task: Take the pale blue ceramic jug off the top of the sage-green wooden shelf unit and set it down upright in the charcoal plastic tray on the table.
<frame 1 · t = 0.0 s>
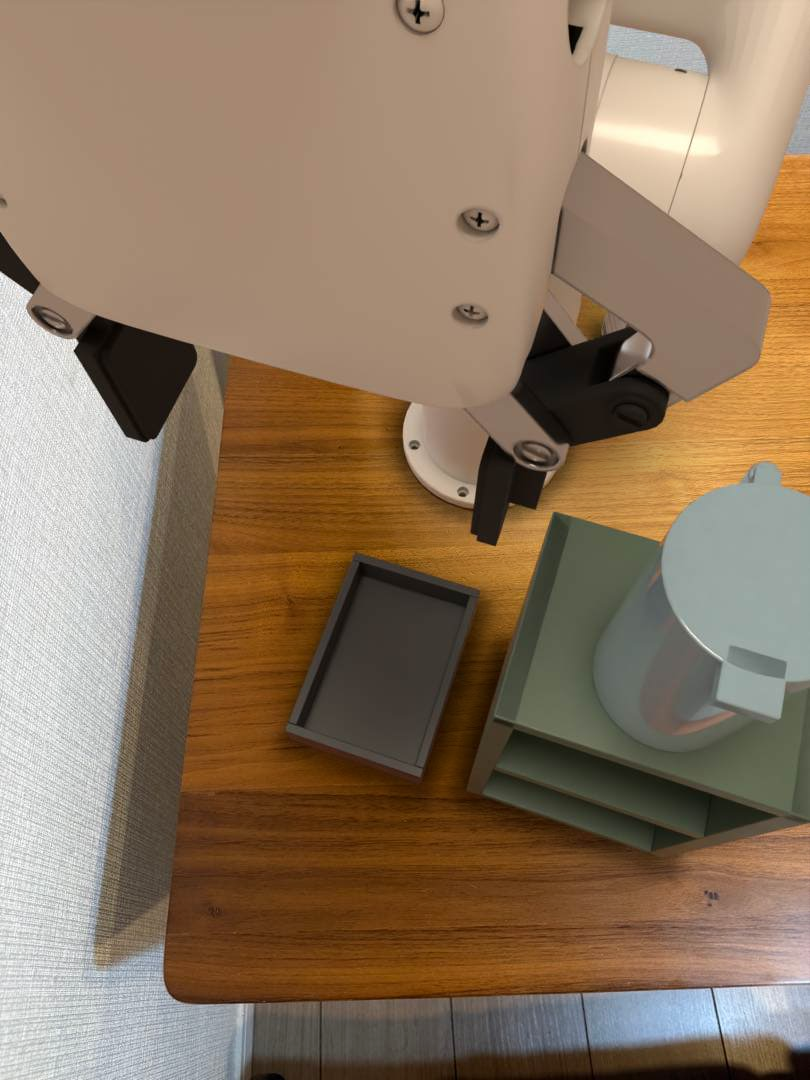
hand: (327, 445, 22), 37 cm above the table, tool pointing down, fingers open, 9 cm apart
shelf: (580, 749, 55), on the table
tray: (387, 670, 57), on the table
jug: (668, 675, 34), point 22 cm above the table, touching shelf
wine bottle: (466, 312, 70), on the table
syrup box: (638, 356, 68), on the table
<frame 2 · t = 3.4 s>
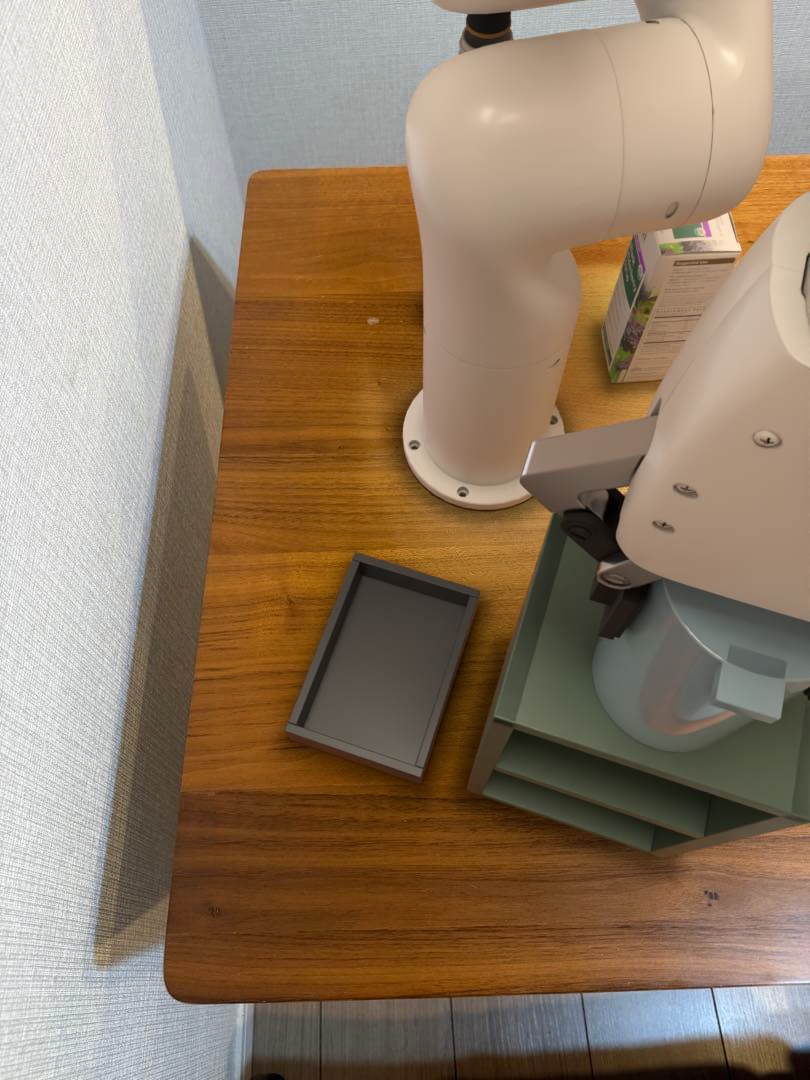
hand: (716, 629, 29), 28 cm above the table, tool pointing down, fingers closed on jug, 6 cm apart
jug: (668, 675, 34), point 22 cm above the table, touching gripper, shelf
everything else where it was.
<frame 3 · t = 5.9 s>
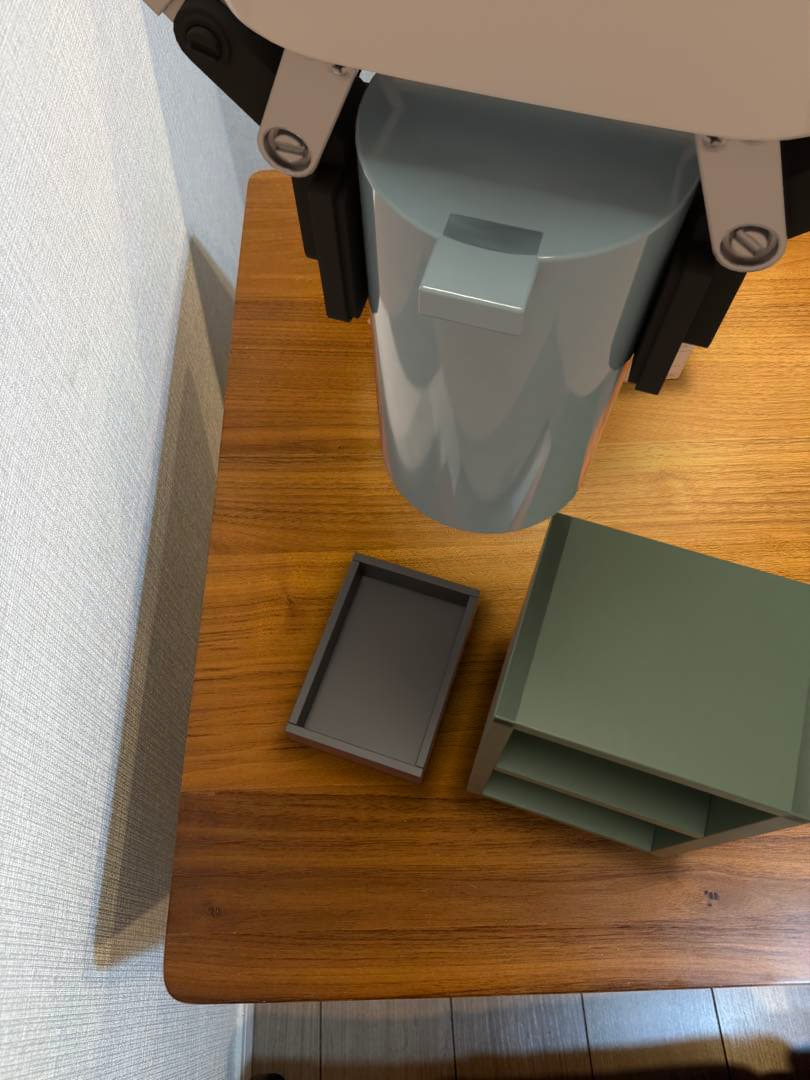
hand: (504, 304, 19), 40 cm above the table, tool pointing down, fingers closed on jug, 6 cm apart
jug: (486, 439, 25), point 34 cm above the table, touching gripper
everything else where it was.
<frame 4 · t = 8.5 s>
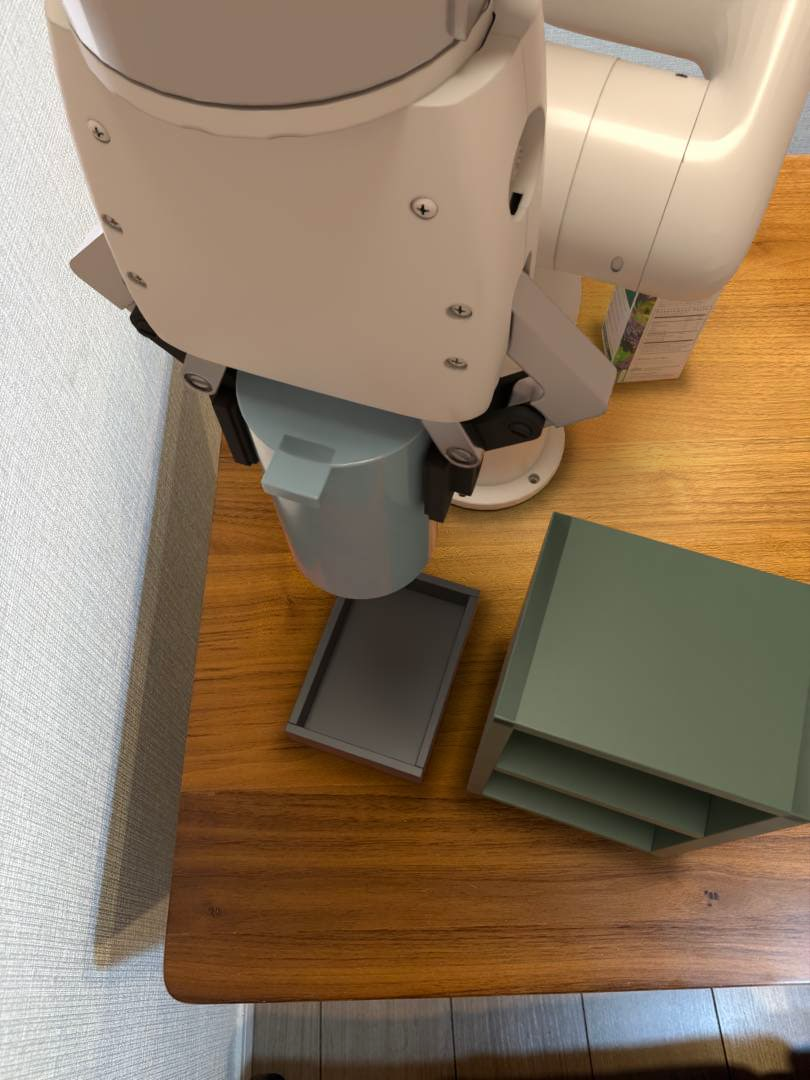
hand: (352, 456, 30), 30 cm above the table, tool pointing down, fingers closed on jug, 6 cm apart
jug: (362, 529, 35), point 24 cm above the table, touching gripper
everything else where it was.
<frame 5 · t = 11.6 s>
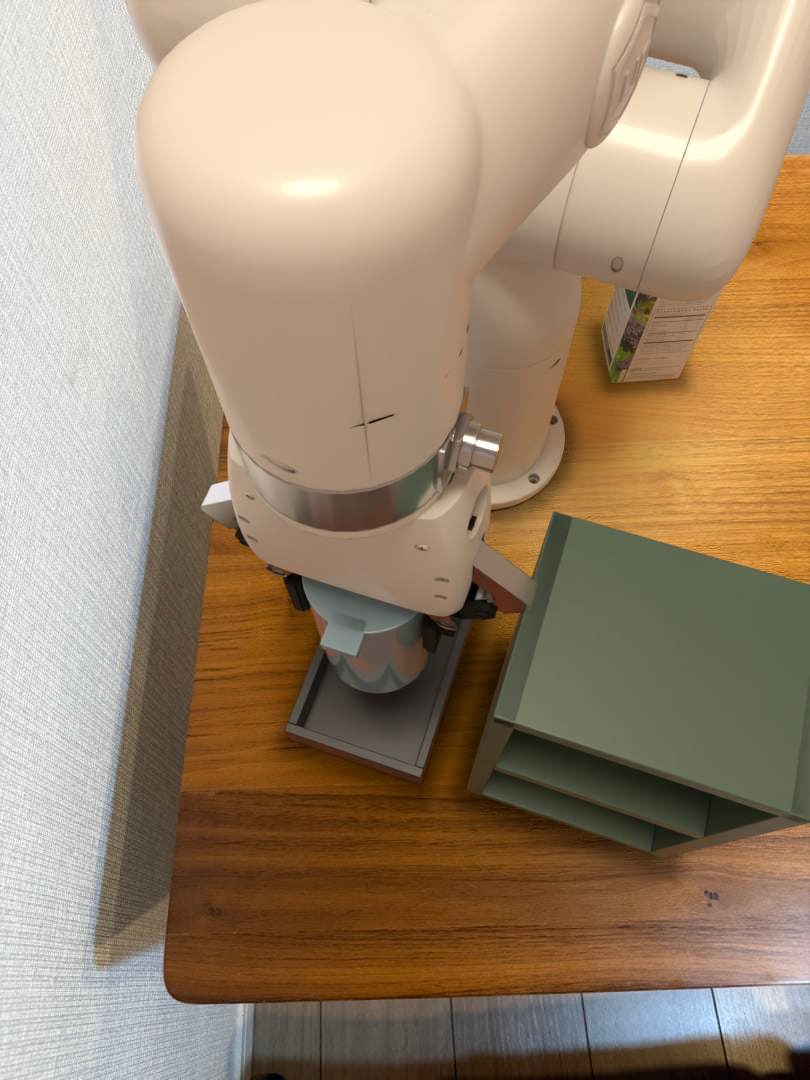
hand: (374, 604, 44), 15 cm above the table, tool pointing down, fingers closed on jug, 6 cm apart
jug: (378, 640, 49), point 9 cm above the table, touching gripper
everything else where it was.
when the fingers open (7 cm above the table, at t = 14.0 s): jug stays where it is, resting on tray.
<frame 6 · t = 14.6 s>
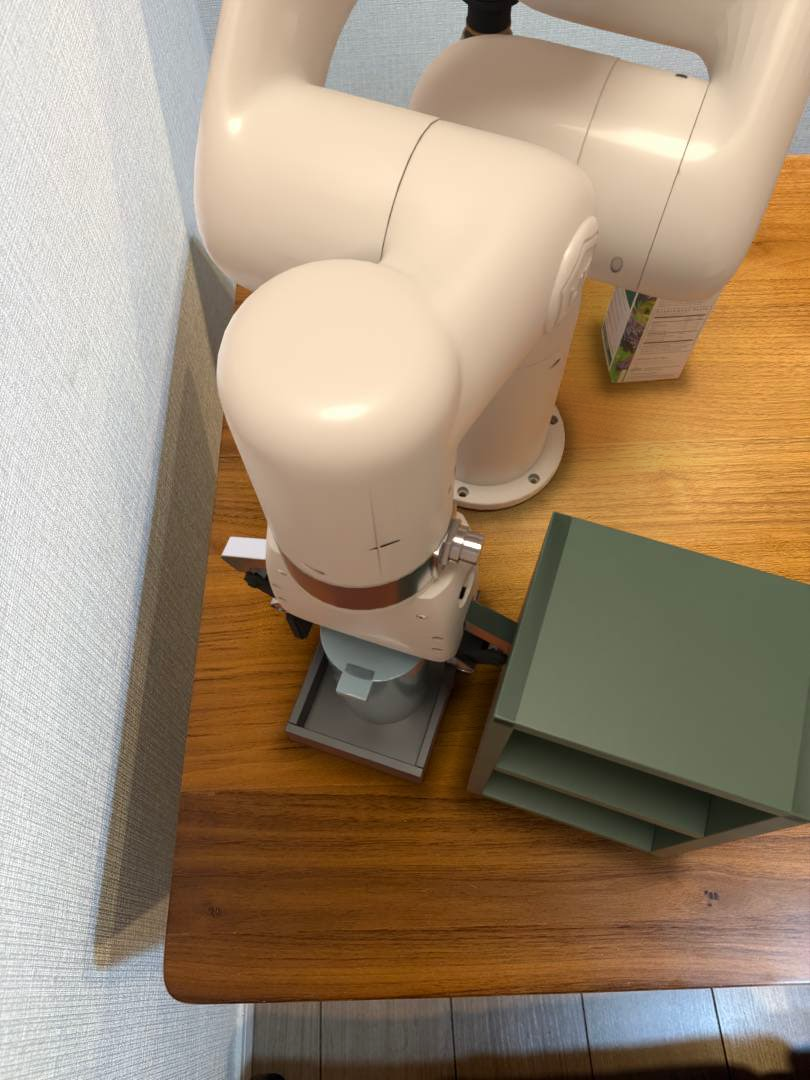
hand: (381, 640, 50), 7 cm above the table, tool pointing down, fingers open, 9 cm apart
jug: (383, 677, 56), point 1 cm above the table, touching tray
everything else where it was.
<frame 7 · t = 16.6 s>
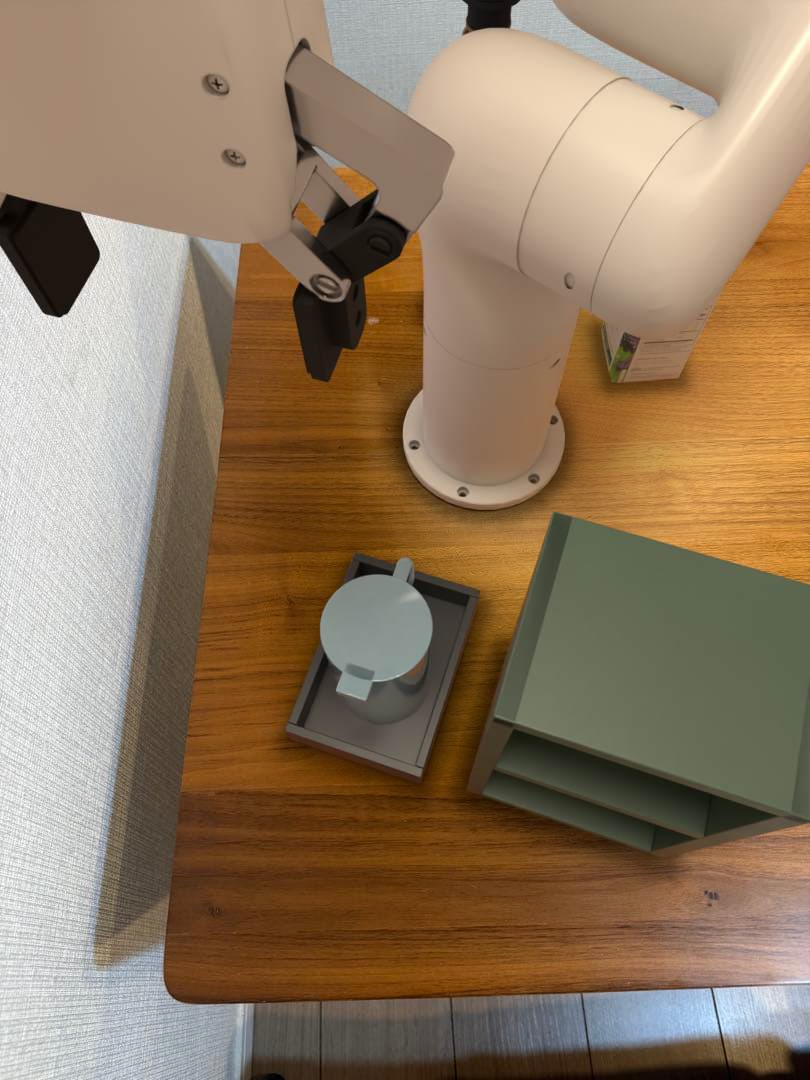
hand: (201, 315, 28), 33 cm above the table, tool pointing down, fingers open, 9 cm apart
nothing on the table moved.
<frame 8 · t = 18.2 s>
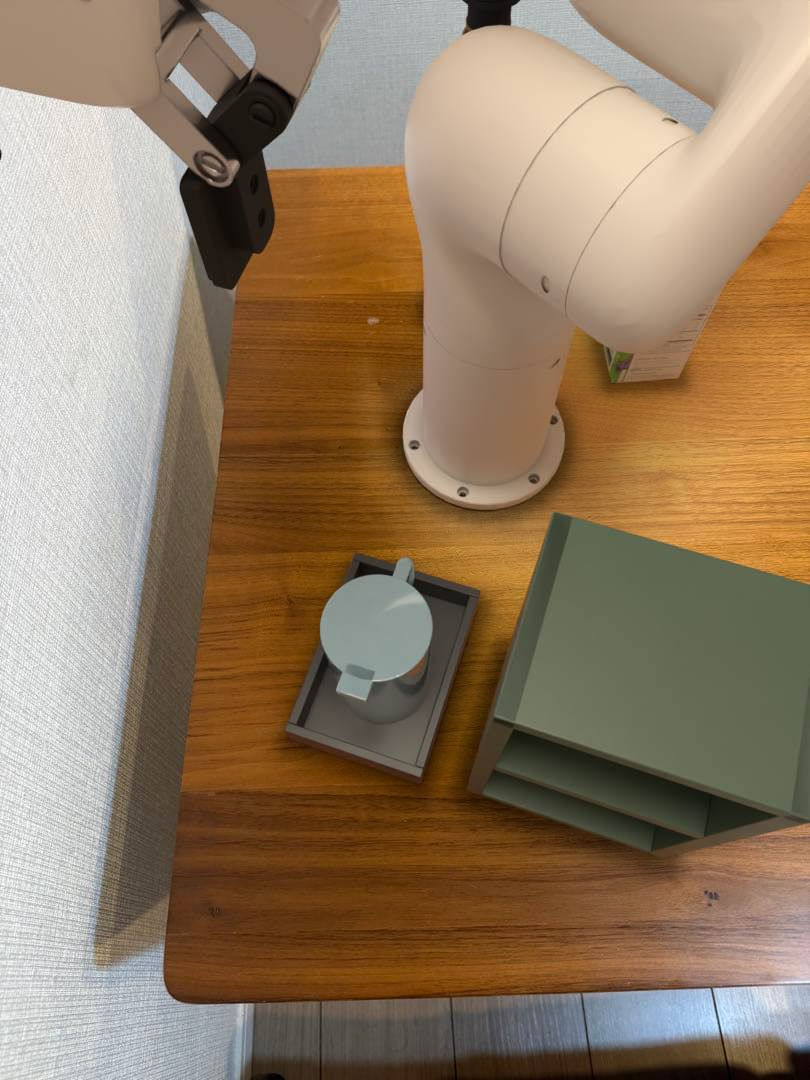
hand: (103, 219, 26), 36 cm above the table, tool pointing down, fingers open, 9 cm apart
nothing on the table moved.
at the end: jug inside the target area in the tray (0.7 cm from its centre), point 0.6 cm above the tray's base; jug tilted 0° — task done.
